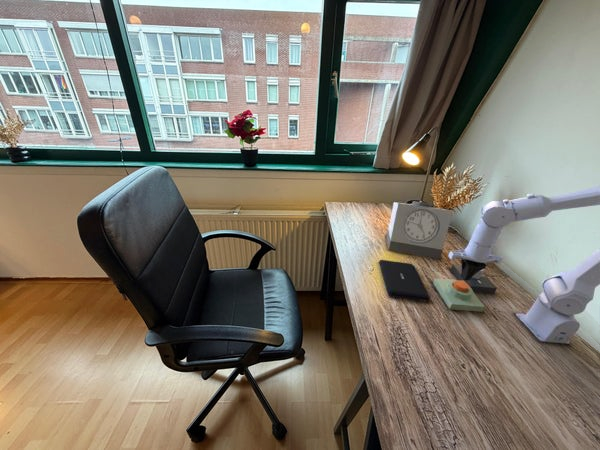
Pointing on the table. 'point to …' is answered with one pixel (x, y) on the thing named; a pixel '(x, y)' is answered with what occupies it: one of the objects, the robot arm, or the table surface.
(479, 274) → the temp dial
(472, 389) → the table surface
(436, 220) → the alarm clock
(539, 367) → the table surface
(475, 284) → the dial panel
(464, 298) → the green button box
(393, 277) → the laptop
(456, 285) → the button
